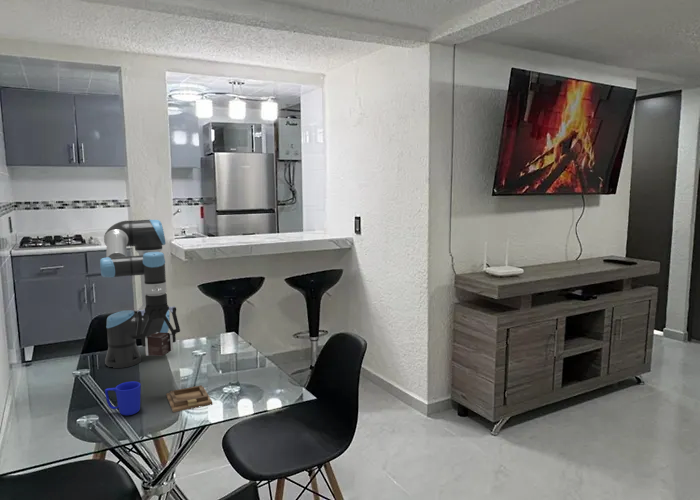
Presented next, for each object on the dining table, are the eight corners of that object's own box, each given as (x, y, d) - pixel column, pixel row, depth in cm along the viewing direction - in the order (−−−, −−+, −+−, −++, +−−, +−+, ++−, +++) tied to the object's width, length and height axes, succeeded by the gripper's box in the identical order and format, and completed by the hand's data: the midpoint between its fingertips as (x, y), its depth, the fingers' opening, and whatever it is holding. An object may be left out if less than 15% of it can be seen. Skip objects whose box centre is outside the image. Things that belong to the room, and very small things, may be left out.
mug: (111, 408, 188) (109, 382, 187) (145, 406, 189) (143, 380, 188) (102, 418, 180) (100, 391, 179) (138, 416, 181) (136, 389, 180)
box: (161, 356, 192) (160, 337, 191) (147, 355, 193) (146, 336, 192) (171, 351, 198) (170, 332, 197) (157, 350, 199) (155, 331, 198)
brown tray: (166, 395, 199) (166, 389, 198) (203, 388, 205) (203, 382, 205) (172, 412, 185) (172, 405, 184) (212, 404, 191) (212, 397, 191)
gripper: (125, 298, 184) (130, 360, 187) (186, 292, 193) (189, 351, 196) (124, 294, 191) (128, 354, 194) (183, 289, 200) (186, 345, 203)
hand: (159, 352), depth 195 cm, fingers closed on box, 8 cm apart
